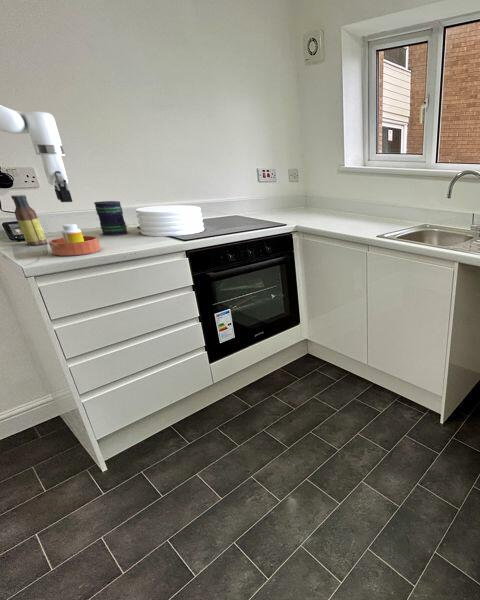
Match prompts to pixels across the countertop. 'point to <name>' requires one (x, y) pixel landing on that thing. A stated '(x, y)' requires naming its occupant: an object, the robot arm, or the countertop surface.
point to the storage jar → (111, 218)
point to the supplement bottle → (72, 233)
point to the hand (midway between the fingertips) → (65, 200)
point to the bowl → (75, 246)
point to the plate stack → (170, 220)
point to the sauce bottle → (28, 221)
